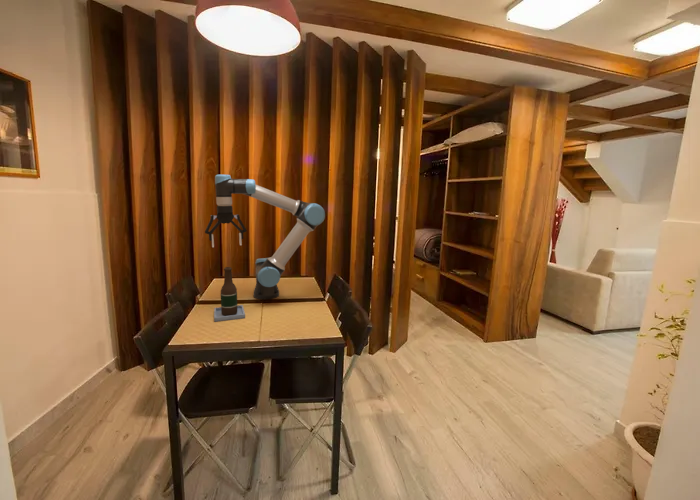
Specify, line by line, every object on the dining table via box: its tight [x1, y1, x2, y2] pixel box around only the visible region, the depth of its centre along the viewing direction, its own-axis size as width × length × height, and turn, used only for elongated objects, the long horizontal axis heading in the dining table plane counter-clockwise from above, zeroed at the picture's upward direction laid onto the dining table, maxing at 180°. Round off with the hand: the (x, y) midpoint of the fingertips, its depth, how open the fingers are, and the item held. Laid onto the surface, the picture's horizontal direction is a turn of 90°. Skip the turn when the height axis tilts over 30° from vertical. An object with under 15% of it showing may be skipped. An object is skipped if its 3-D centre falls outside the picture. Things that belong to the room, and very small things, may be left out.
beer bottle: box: [220, 266, 238, 316], centre depth 156 cm, size 8×8×24 cm
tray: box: [213, 304, 246, 323], centre depth 158 cm, size 14×14×2 cm
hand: (227, 246), depth 164 cm, fingers open, 13 cm apart
